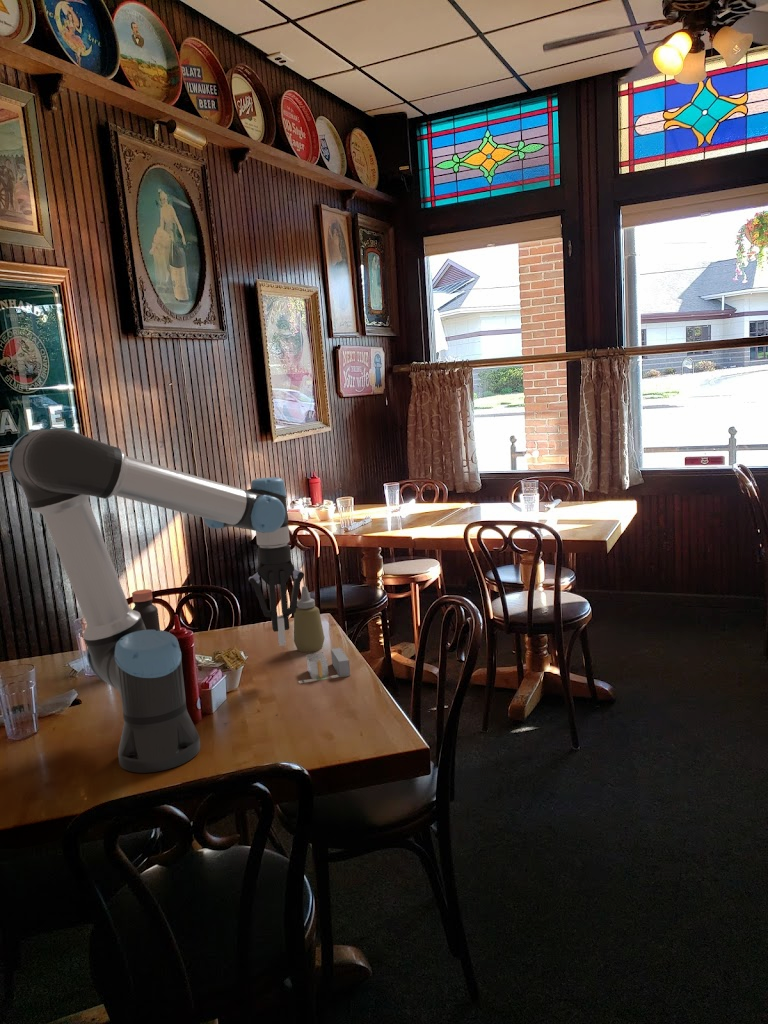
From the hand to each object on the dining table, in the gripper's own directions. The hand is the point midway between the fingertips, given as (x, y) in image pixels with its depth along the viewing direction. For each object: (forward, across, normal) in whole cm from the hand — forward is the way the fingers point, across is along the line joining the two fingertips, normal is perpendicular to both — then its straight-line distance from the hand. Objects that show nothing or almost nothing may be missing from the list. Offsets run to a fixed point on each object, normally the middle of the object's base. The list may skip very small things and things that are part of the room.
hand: (282, 643), depth 178 cm
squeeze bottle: (+10, -9, -20) cm, 24 cm away
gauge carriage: (+9, -8, 0) cm, 12 cm away
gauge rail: (+10, -7, 0) cm, 12 cm away
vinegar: (+10, +32, -30) cm, 45 cm away
